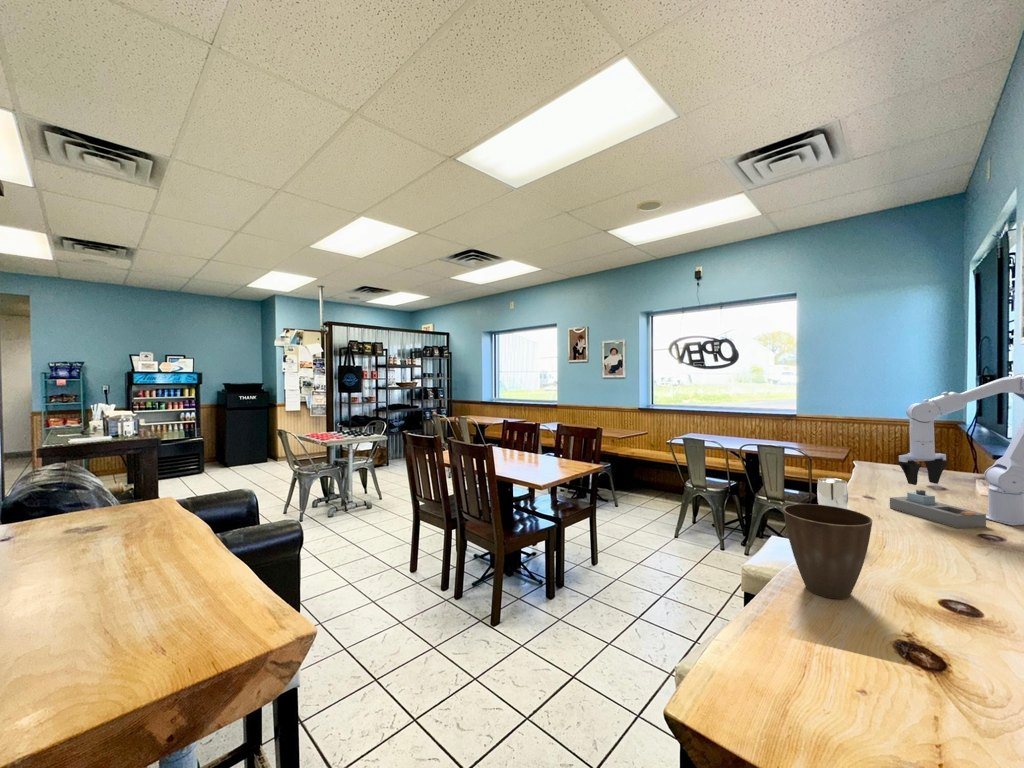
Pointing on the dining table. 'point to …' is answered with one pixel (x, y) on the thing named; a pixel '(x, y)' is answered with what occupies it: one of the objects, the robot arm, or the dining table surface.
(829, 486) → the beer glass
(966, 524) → the grey slotted tray
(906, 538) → the dining table surface
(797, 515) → the plant pot
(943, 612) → the dining table surface
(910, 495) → the plug
